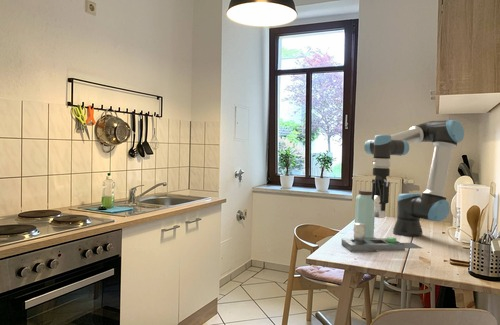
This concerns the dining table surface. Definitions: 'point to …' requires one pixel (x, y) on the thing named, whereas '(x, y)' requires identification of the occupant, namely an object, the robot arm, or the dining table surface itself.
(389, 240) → the button
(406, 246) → the pad
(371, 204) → the water bottle
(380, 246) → the tray
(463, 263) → the dining table surface
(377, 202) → the billet
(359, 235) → the cylinder
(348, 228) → the dining table surface
